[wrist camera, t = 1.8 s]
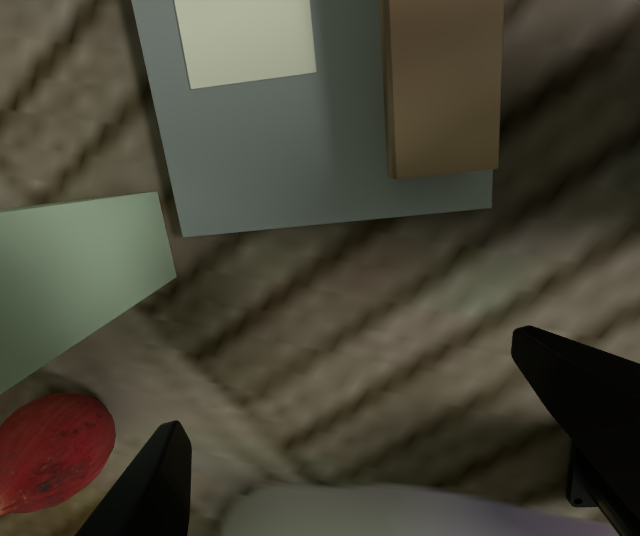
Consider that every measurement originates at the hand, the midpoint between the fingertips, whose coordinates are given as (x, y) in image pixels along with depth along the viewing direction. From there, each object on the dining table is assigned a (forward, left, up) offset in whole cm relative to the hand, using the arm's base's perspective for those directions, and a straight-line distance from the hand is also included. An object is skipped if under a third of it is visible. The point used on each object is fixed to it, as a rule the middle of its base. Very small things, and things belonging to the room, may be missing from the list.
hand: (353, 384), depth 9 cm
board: (+10, +1, -11) cm, 15 cm away
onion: (-8, +18, -11) cm, 23 cm away
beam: (+10, -4, -10) cm, 15 cm away
